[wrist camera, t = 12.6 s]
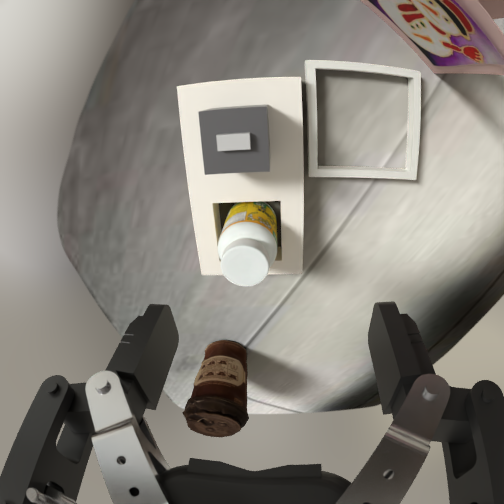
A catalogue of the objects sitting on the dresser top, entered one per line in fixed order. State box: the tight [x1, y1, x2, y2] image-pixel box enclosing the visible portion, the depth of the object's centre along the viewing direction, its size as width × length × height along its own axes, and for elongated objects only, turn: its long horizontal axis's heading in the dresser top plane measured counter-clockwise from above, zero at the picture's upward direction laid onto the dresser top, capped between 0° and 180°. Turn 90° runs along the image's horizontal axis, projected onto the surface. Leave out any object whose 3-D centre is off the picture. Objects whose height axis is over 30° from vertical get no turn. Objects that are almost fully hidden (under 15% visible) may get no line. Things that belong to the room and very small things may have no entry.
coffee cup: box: [183, 340, 249, 437], centre depth 38 cm, size 9×8×13 cm
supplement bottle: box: [218, 201, 277, 287], centre depth 29 cm, size 5×5×10 cm
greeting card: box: [360, 0, 504, 75], centre depth 14 cm, size 11×7×15 cm, turn 52°
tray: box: [305, 60, 421, 180], centre depth 26 cm, size 12×12×2 cm
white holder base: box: [177, 77, 304, 275], centre depth 27 cm, size 11×20×9 cm, turn 3°
